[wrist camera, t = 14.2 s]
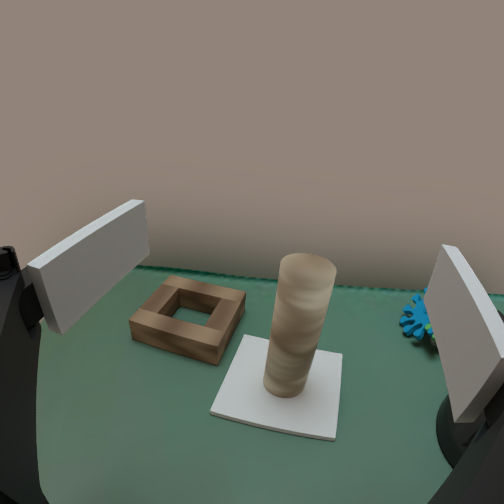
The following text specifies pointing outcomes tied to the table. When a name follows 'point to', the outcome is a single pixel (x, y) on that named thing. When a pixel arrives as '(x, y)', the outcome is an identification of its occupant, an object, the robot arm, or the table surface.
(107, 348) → the table surface
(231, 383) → the pad
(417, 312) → the gear
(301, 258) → the dowel
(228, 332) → the pocket block
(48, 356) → the table surface
